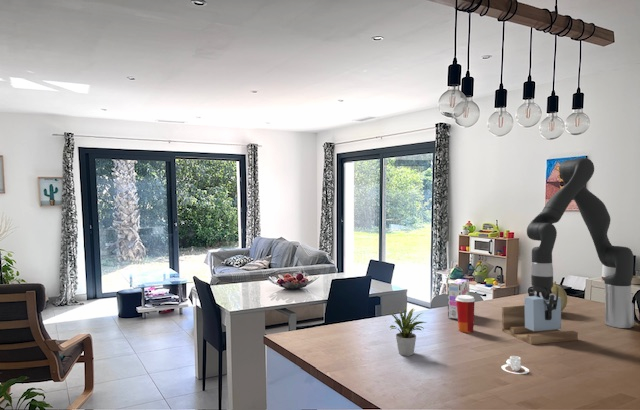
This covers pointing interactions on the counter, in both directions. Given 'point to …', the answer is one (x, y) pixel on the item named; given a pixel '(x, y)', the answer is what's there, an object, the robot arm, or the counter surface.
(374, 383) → the counter surface
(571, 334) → the track
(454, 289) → the candy box
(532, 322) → the panel
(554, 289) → the cantaloupe
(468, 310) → the paper cup
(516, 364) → the teacup and saucer
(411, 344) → the house plant
